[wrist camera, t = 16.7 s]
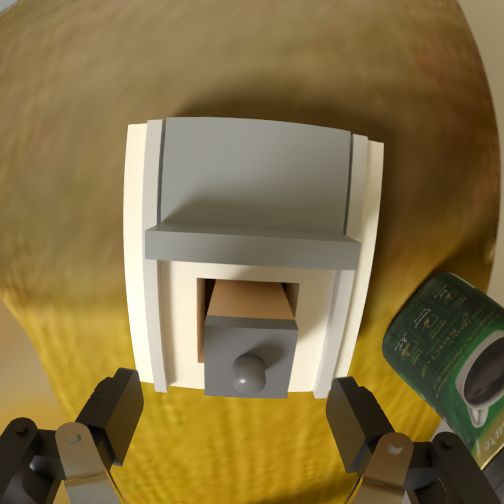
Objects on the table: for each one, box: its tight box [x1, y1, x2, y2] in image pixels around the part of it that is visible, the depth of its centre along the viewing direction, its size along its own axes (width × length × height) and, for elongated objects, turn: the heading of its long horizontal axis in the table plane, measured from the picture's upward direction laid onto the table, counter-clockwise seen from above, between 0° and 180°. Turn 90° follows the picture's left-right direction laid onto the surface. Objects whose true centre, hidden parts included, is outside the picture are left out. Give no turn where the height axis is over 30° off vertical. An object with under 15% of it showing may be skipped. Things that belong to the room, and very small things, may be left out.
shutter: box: [145, 117, 361, 271], centre depth 12 cm, size 6×9×3 cm
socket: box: [124, 120, 384, 398], centre depth 17 cm, size 16×14×5 cm
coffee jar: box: [382, 272, 504, 504], centre depth 12 cm, size 10×8×19 cm
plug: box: [204, 279, 299, 398], centre depth 15 cm, size 4×4×9 cm
